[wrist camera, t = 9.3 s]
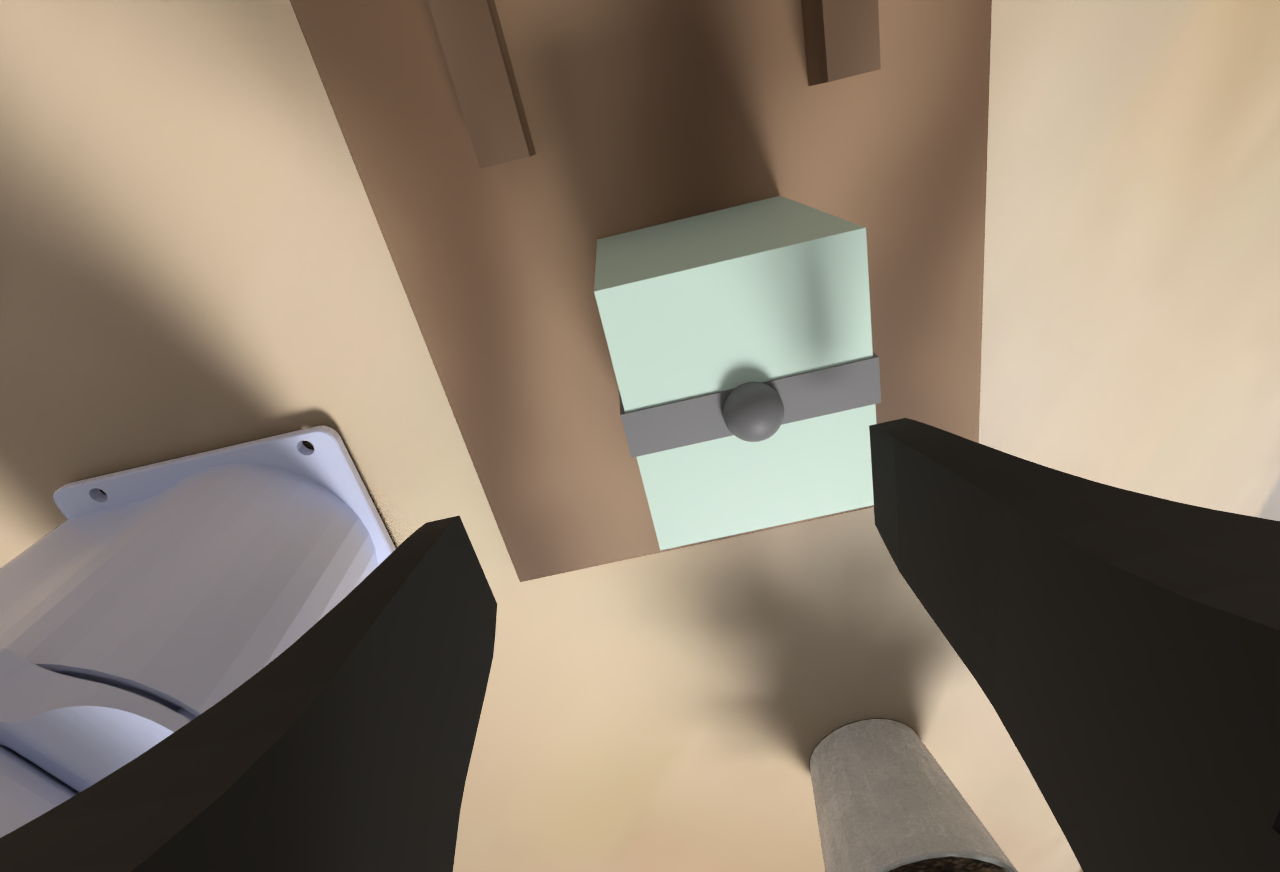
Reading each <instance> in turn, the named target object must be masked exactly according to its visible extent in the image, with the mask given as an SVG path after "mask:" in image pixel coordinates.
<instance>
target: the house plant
mask: <svg viewBox="0 0 1280 872" xmlns="http://www.w3.org/2000/svg"><path fill="white" fill-rule="evenodd" d="M810 772H811V779H812V785H813V792H814V799H815V805H816V812H817V819H818V825H819V832H820V839H821V845H822V852H823V859H824V865H825V872H1018V871H1017V870H1016V869H1015V867H1014V866H1013V865H1012V863H1011V862H1010V860H1009V859H1008V858H1007V856H1006V855H1005V854H1004V852H1003V851H1002V850H1001V848H1000V847H999V846H998V844H997V843H996V841H995V840H994V839H993V837H992V836H991V835H990V833H989V832H988V831H987V829H986V828H985V826H984V825H983V824H982V822H981V821H980V820H979V818H978V817H977V816H976V814H975V813H974V812H973V810H972V809H971V807H970V806H969V805H968V803H967V802H966V801H965V799H964V798H963V797H962V795H961V794H960V793H959V791H958V790H957V788H956V787H955V786H954V784H953V783H952V782H951V780H950V779H949V778H948V776H947V775H946V774H945V772H944V771H943V769H942V768H941V767H940V765H939V764H938V763H937V761H936V760H935V759H934V757H933V756H932V755H931V753H930V752H929V750H928V749H927V748H926V746H925V745H924V744H923V742H922V741H921V740H920V738H919V737H918V736H917V734H916V733H915V732H914V730H913V729H911V728H910V727H908V726H906V725H905V724H903V723H900V722H897V721H893V720H887V719H870V720H861V721H858V722H854V723H851V724H848V725H845V726H843V727H841V728H839V729H837V730H835V731H833V732H832V733H830V734H829V735H828V736H827V737H825V738H824V739H823V740H822V741H821V742H820V743H819V744H818V746H817V747H816V748H815V749H814V752H813V754H812V756H811V759H810Z"/></svg>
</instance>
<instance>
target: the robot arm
mask: <svg viewBox="0 0 1280 872" xmlns="http://www.w3.org/2000/svg"><path fill="white" fill-rule="evenodd" d="M869 431H870V447H871V464H872V481H873V498H874V514H875V525H876V527H877V529H878V531H879V533H880V535H881V537H882V539H883V541H884V543H885V545H886V547H887V549H888V551H889V553H890V555H891V557H892V558H893V560H894V562H895V564H896V566H897V568H898V570H899V571H900V573H901V574H902V576H903V577H904V579H905V580H906V582H907V583H908V585H909V586H910V588H911V589H912V590H913V592H914V593H915V595H916V596H917V598H918V599H919V600H920V602H921V603H922V605H923V606H924V608H925V609H926V610H927V612H928V613H929V615H930V616H931V617H932V619H933V620H934V622H935V623H936V624H937V626H938V627H939V629H940V630H941V632H942V633H943V634H944V636H945V637H946V639H947V640H948V641H949V643H950V644H951V646H952V647H953V648H954V650H955V651H956V653H957V654H958V655H959V657H960V658H961V660H962V661H963V662H964V664H965V665H966V667H967V668H968V669H969V671H970V672H971V674H972V675H973V676H974V678H975V679H976V681H977V682H978V684H979V685H980V687H981V688H982V690H983V692H984V693H985V695H986V696H987V698H988V699H989V701H990V702H991V704H992V705H993V707H994V709H995V710H996V712H997V714H998V716H999V717H1000V719H1001V721H1002V723H1003V724H1004V726H1005V728H1006V730H1007V731H1008V733H1009V735H1010V737H1011V739H1012V740H1013V742H1014V744H1015V746H1016V747H1017V749H1018V751H1019V753H1020V754H1021V756H1022V758H1023V760H1024V761H1025V763H1026V765H1027V767H1028V768H1029V770H1030V772H1031V774H1032V776H1033V778H1034V779H1035V781H1036V783H1037V785H1038V787H1039V789H1040V791H1041V792H1042V794H1043V796H1044V798H1045V800H1046V802H1047V803H1048V805H1049V807H1050V809H1051V811H1052V813H1053V815H1054V816H1055V818H1056V820H1057V822H1058V824H1059V826H1060V827H1061V829H1062V831H1063V833H1064V835H1065V837H1066V839H1067V841H1068V842H1069V844H1070V846H1071V848H1072V850H1073V852H1074V854H1075V856H1076V858H1077V860H1078V862H1079V864H1080V866H1081V868H1082V870H1083V872H1280V521H1274V520H1268V519H1262V518H1257V517H1251V516H1246V515H1240V514H1234V513H1229V512H1223V511H1217V510H1212V509H1207V508H1202V507H1197V506H1192V505H1188V504H1183V503H1178V502H1174V501H1169V500H1165V499H1161V498H1157V497H1153V496H1149V495H1144V494H1140V493H1136V492H1132V491H1128V490H1124V489H1119V488H1116V487H1112V486H1108V485H1105V484H1101V483H1097V482H1094V481H1090V480H1087V479H1084V478H1081V477H1077V476H1074V475H1071V474H1067V473H1064V472H1061V471H1058V470H1054V469H1051V468H1048V467H1045V466H1042V465H1039V464H1036V463H1033V462H1030V461H1027V460H1024V459H1021V458H1018V457H1015V456H1013V455H1010V454H1007V453H1004V452H1001V451H999V450H996V449H993V448H990V447H988V446H985V445H982V444H979V443H977V442H974V441H971V440H969V439H966V438H963V437H961V436H958V435H955V434H953V433H950V432H947V431H945V430H942V429H939V428H936V427H934V426H931V425H928V424H925V423H922V422H919V421H916V420H912V419H908V418H902V419H897V420H893V421H888V422H884V423H879V424H874V425H870V426H869ZM302 441H308V442H310V443H311V444H312V445H313V446H314V450H310V449H308V448H306V447H305V446H304V445H303V442H302ZM99 489H100V490H103V491H104V492H105V493H106V495H105V494H103V493H102V492H100V491H99ZM53 500H54V502H55V504H56V505H57V507H58V508H59V509H60V510H61V512H62V513H63V514H64V516H65V517H66V518H67V521H65V522H64V523H62V524H61V525H60V526H58V527H57V528H56V529H54V530H53V531H51V532H50V533H49V534H47V535H46V536H45V537H43V538H42V539H40V540H39V541H38V542H36V543H35V544H33V545H32V546H31V547H29V548H28V549H27V550H25V551H24V552H22V553H21V554H20V555H18V556H17V557H16V558H14V559H13V560H11V561H10V562H9V563H7V564H6V565H5V566H3V567H2V568H0V872H453V864H454V856H455V847H456V839H457V831H458V823H459V814H460V808H461V802H462V797H463V791H464V786H465V781H466V776H467V772H468V767H469V763H470V758H471V754H472V750H473V745H474V741H475V736H476V732H477V727H478V723H479V719H480V714H481V710H482V705H483V701H484V696H485V692H486V687H487V682H488V678H489V673H490V669H491V664H492V659H493V651H494V640H495V628H496V612H497V603H496V600H495V598H494V596H493V593H492V591H491V589H490V586H489V584H488V582H487V579H486V577H485V575H484V572H483V570H482V568H481V565H480V563H479V561H478V558H477V556H476V554H475V551H474V549H473V547H472V544H471V542H470V539H469V537H468V535H467V532H466V530H465V528H464V525H463V523H462V521H461V518H460V516H456V517H451V518H447V519H442V520H437V521H433V522H428V523H425V524H424V525H423V526H422V527H420V528H419V529H418V530H416V531H415V532H414V533H413V534H412V535H411V536H409V537H408V538H407V539H406V540H405V541H404V542H403V543H402V544H401V545H400V546H399V547H397V548H395V546H394V544H393V542H392V540H391V538H390V536H389V534H388V532H387V530H386V528H385V526H384V524H383V522H382V520H381V518H380V516H379V514H378V512H377V510H376V508H375V506H374V504H373V502H372V500H371V498H370V496H369V494H368V492H367V490H366V488H365V486H364V484H363V482H362V480H361V478H360V475H359V473H358V471H357V469H356V467H355V465H354V463H353V461H352V459H351V457H350V455H349V453H348V451H347V449H346V447H345V445H344V443H343V441H342V439H341V437H340V436H339V434H338V433H337V432H336V431H335V430H334V429H332V428H331V427H327V426H315V427H311V428H307V429H302V430H298V431H294V432H289V433H285V434H281V435H276V436H272V437H268V438H263V439H259V440H254V441H250V442H246V443H241V444H237V445H233V446H228V447H224V448H220V449H215V450H211V451H207V452H202V453H198V454H194V455H189V456H185V457H181V458H176V459H172V460H167V461H163V462H159V463H154V464H150V465H146V466H141V467H137V468H133V469H128V470H124V471H120V472H115V473H111V474H107V475H102V476H98V477H94V478H89V479H85V480H81V481H76V482H72V483H68V484H66V485H63V486H62V487H60V488H59V489H57V490H56V491H55V492H54V494H53Z"/></svg>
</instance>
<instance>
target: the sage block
mask: <svg viewBox="0 0 1280 872" xmlns="http://www.w3.org/2000/svg"><path fill="white" fill-rule="evenodd" d="M594 294H595V298H596V301H597V305H598V309H599V313H600V317H601V321H602V325H603V329H604V333H605V337H606V340H607V344H608V348H609V352H610V356H611V360H612V364H613V368H614V372H615V376H616V379H617V383H618V387H619V401H620V416H621V420H622V423H623V427H624V431H625V435H626V439H627V443H628V447H629V450H630V454H631V458H633V457H637V461H638V465H639V469H640V473H641V477H642V481H643V485H644V489H645V493H646V496H647V500H648V504H649V508H650V512H651V516H652V520H653V524H654V528H655V532H656V535H657V539H658V543H659V547H660V550H665V549H670V548H674V547H679V546H684V545H688V544H693V543H698V542H703V541H707V540H712V539H717V538H721V537H726V536H731V535H735V534H740V533H745V532H750V531H754V530H759V529H764V528H768V527H773V526H778V525H783V524H787V523H792V522H797V521H801V520H806V519H811V518H815V517H820V516H825V515H830V514H834V513H839V512H844V511H848V510H853V509H858V508H862V507H867V506H872V505H874V498H873V481H872V464H871V447H870V431H869V426H870V425H874V424H876V405H875V404H877V403H881V388H880V367H879V357H878V356H877V355H876V354H875V353H874V352H873V349H872V331H871V312H870V293H869V275H868V256H867V237H866V227H863V226H860V225H858V224H855V223H852V222H850V221H847V220H844V219H842V218H839V217H836V216H834V215H831V214H828V213H826V212H823V211H820V210H817V209H815V208H812V207H809V206H807V205H804V204H801V203H799V202H796V201H793V200H791V199H788V198H785V197H783V196H777V197H772V198H768V199H764V200H760V201H756V202H752V203H747V204H743V205H739V206H735V207H731V208H727V209H722V210H718V211H714V212H710V213H706V214H701V215H697V216H693V217H689V218H685V219H681V220H676V221H672V222H668V223H664V224H660V225H656V226H651V227H647V228H643V229H639V230H635V231H631V232H626V233H622V234H618V235H614V236H610V237H606V238H601V239H597V251H596V267H595V283H594Z"/></svg>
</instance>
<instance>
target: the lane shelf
mask: <svg viewBox="0 0 1280 872" xmlns="http://www.w3.org/2000/svg"><path fill="white" fill-rule="evenodd" d="M290 2H291V4H292V7H293V9H294V12H295V14H296V17H297V20H298V22H299V25H300V27H301V30H302V32H303V35H304V37H305V40H306V42H307V45H308V47H309V50H310V52H311V55H312V57H313V60H314V62H315V65H316V68H317V70H318V73H319V75H320V78H321V80H322V83H323V85H324V88H325V90H326V93H327V95H328V98H329V100H330V103H331V105H332V108H333V110H334V113H335V116H336V118H337V121H338V123H339V126H340V128H341V131H342V133H343V136H344V138H345V141H346V143H347V146H348V148H349V151H350V153H351V156H352V158H353V161H354V164H355V166H356V169H357V171H358V174H359V176H360V179H361V181H362V184H363V186H364V189H365V191H366V194H367V196H368V199H369V201H370V204H371V206H372V209H373V212H374V214H375V217H376V219H377V222H378V224H379V227H380V229H381V232H382V234H383V237H384V239H385V242H386V244H387V247H388V249H389V252H390V254H391V257H392V260H393V262H394V265H395V267H396V270H397V272H398V275H399V277H400V280H401V282H402V285H403V287H404V290H405V292H406V295H407V297H408V300H409V302H410V305H411V308H412V310H413V313H414V315H415V318H416V320H417V323H418V325H419V328H420V330H421V333H422V335H423V338H424V340H425V343H426V345H427V348H428V350H429V353H430V356H431V358H432V361H433V363H434V366H435V368H436V371H437V373H438V376H439V378H440V381H441V383H442V386H443V388H444V391H445V393H446V396H447V398H448V401H449V404H450V406H451V409H452V411H453V414H454V416H455V419H456V421H457V424H458V426H459V429H460V431H461V434H462V436H463V439H464V441H465V444H466V446H467V449H468V452H469V454H470V457H471V459H472V462H473V464H474V467H475V469H476V472H477V474H478V477H479V479H480V482H481V484H482V487H483V489H484V492H485V494H486V497H487V500H488V502H489V505H490V507H491V510H492V512H493V515H494V517H495V520H496V522H497V525H498V527H499V530H500V532H501V535H502V537H503V540H504V542H505V545H506V548H507V550H508V553H509V555H510V558H511V560H512V563H513V565H514V568H515V570H516V573H517V575H518V578H519V580H520V582H522V581H527V580H532V579H537V578H541V577H546V576H551V575H555V574H560V573H565V572H570V571H574V570H579V569H584V568H588V567H593V566H598V565H602V564H607V563H612V562H617V561H621V560H626V559H631V558H635V557H640V556H645V555H649V554H654V553H659V552H664V551H668V550H673V549H678V548H682V547H687V546H692V545H696V544H701V543H706V542H711V541H715V540H720V539H725V538H729V537H734V536H739V535H743V534H748V533H753V532H758V531H762V530H767V529H772V528H776V527H781V526H786V525H790V524H795V523H800V522H805V521H809V520H814V519H819V518H823V517H828V516H833V515H837V514H842V513H847V512H852V511H856V510H861V509H866V508H870V507H874V505H872V506H867V507H862V508H858V509H853V510H848V511H844V512H839V513H834V514H830V515H825V516H820V517H815V518H811V519H806V520H801V521H797V522H792V523H787V524H783V525H778V526H773V527H768V528H764V529H759V530H754V531H750V532H745V533H740V534H735V535H731V536H726V537H721V538H717V539H712V540H707V541H703V542H698V543H693V544H688V545H684V546H679V547H674V548H670V549H665V550H660V547H659V543H658V539H657V535H656V532H655V528H654V524H653V520H652V516H651V512H650V508H649V504H648V500H647V496H646V493H645V489H644V485H643V481H642V477H641V473H640V469H639V465H638V461H637V457H633V458H631V454H630V450H629V447H628V443H627V439H626V435H625V431H624V427H623V423H622V420H621V416H620V401H619V387H618V383H617V379H616V376H615V372H614V368H613V364H612V360H611V356H610V352H609V348H608V344H607V340H606V337H605V333H604V329H603V325H602V321H601V317H600V313H599V309H598V305H597V301H596V298H595V294H594V283H595V267H596V251H597V239H601V238H606V237H610V236H614V235H618V234H622V233H626V232H631V231H635V230H639V229H643V228H647V227H651V226H656V225H660V224H664V223H668V222H672V221H676V220H681V219H685V218H689V217H693V216H697V215H701V214H706V213H710V212H714V211H718V210H722V209H727V208H731V207H735V206H739V205H743V204H747V203H752V202H756V201H760V200H764V199H768V198H772V197H777V196H783V197H785V198H788V199H791V200H793V201H796V202H799V203H801V204H804V205H807V206H809V207H812V208H815V209H817V210H820V211H823V212H826V213H828V214H831V215H834V216H836V217H839V218H842V219H844V220H847V221H850V222H852V223H855V224H858V225H860V226H863V227H866V237H867V256H868V275H869V293H870V312H871V331H872V349H873V352H874V353H875V354H876V355H877V356H878V357H879V367H880V388H881V403H877V404H875V405H876V424H879V423H884V422H888V421H893V420H897V419H902V418H908V419H912V420H916V421H919V422H922V423H925V424H928V425H931V426H934V427H936V428H939V429H942V430H945V431H947V432H950V433H953V434H955V435H958V436H961V437H963V438H966V439H969V440H971V441H974V442H977V443H978V440H979V407H980V373H981V340H982V306H983V273H984V239H985V206H986V172H987V139H988V105H989V72H990V38H991V5H992V0H290Z"/></svg>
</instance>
